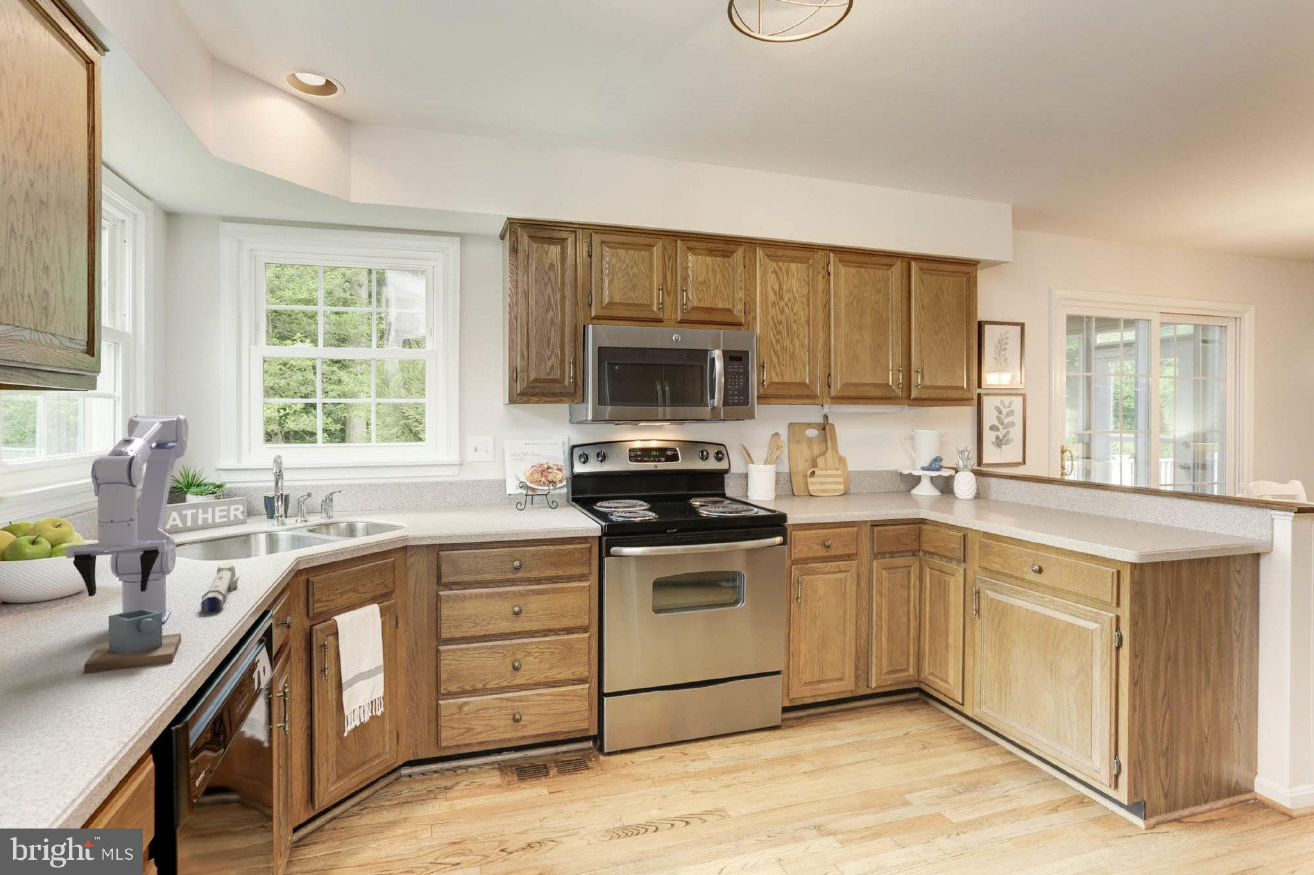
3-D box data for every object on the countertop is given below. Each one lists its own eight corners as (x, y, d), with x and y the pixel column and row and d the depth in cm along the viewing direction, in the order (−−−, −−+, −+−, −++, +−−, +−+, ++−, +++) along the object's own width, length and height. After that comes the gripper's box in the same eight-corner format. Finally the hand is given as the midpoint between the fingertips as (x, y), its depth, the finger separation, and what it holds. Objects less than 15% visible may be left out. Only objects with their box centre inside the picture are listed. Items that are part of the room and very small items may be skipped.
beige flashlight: (196, 597, 147) (215, 558, 169) (197, 626, 148) (215, 583, 170) (225, 594, 149) (240, 556, 171) (225, 623, 150) (240, 582, 172)
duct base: (100, 650, 124) (100, 623, 124) (181, 641, 130) (180, 614, 130) (84, 673, 114) (84, 643, 113) (172, 661, 119) (172, 633, 119)
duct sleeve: (108, 649, 120) (108, 615, 120) (144, 640, 125) (144, 608, 125) (133, 657, 117) (132, 622, 117) (168, 647, 122) (168, 614, 122)
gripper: (61, 525, 121) (62, 602, 121) (162, 520, 128) (162, 593, 128) (71, 520, 127) (72, 592, 127) (167, 515, 134) (168, 584, 134)
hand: (118, 592), depth 128 cm, fingers open, 7 cm apart
